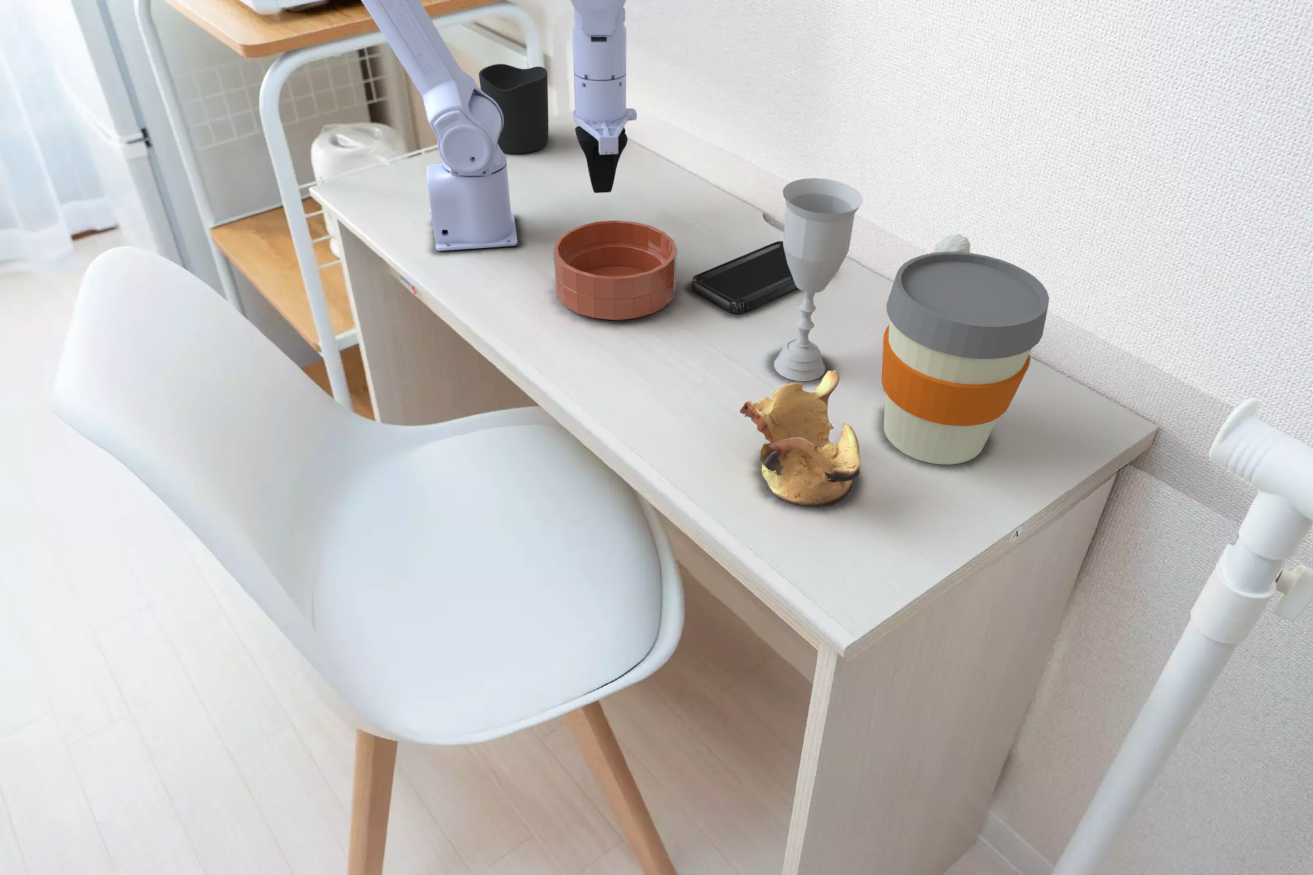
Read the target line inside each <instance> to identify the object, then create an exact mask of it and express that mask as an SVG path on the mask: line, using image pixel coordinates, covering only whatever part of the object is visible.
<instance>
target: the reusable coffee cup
mask: <svg viewBox="0 0 1313 875" xmlns="http://www.w3.org/2000/svg"><path fill="white" fill-rule="evenodd" d="M1049 303H1050V296H1049V293H1048V290H1047V289H1046V287H1045V286H1044V284H1043V283H1042V282H1041V281H1040V280H1039V279H1038V278H1037V277H1036V276H1034V275H1033V274H1031V273H1030V272H1029V271H1027V270H1025V269H1023V268H1021V267H1019V266H1017V265H1015V264H1013V263H1011V262H1008V261H1005V260H1003V259H1000V258H997V257H993V256H988V255H984V254H979V253H973V252H970V253H964V252H938V253H932V252H930V253H925V254H921V255H918V256H916V257H912V258H910V259H908V260H907V261H906V262H904V263H903V264H901V266H900V267H899V268H898V270H897V272H896V275H895V277H894V280H893V284H892V286H891V289H890V292H889V296H888V299H887V302H886V314H887V317H888V319H889V321H888V323H889V324H888V325H887V326H886V328H885V331H884V333H883V343H882V344H883V345H882V358H881V360H882V362H881V385H882V388H883V391H884V392H885V395H884V409H883V410H884V412H883V431H884V434H885V436H886V438H887V440H888V441H889V443H890V444H892V446H893V447H895V448H896V449H897V450H898V451H900V452H901V453H903V454H905V455H906V456H909V457H910V458H913V459H916V460H918V461H920V462H924V463H928V464H935V465H957V464H963V463H966V462H969V461H971V460H972V459H974V458H976V457H977V456H978V455H979V454H980V453H981V452H982V451H983V449H984V447H985V445H986V443H987V441H988V440H989V437H990V434H992V431H993V429H994V427H995V424H996V423H997V421H998V419H999V418H1001V417H1002V416H1003V415H1004V414H1005V413H1006V412H1007V411H1008V409H1009V407H1010V405H1011V403H1012V402H1013V400H1014V398H1015V395H1016V393H1017V392H1018V389H1019V387H1020V386H1021V383H1022V381H1023V379H1024V377H1025V376H1026V373H1027V371H1028V369H1029V367H1030V362H1031V356H1030V353H1031V352H1032V349H1033V348H1034V347H1036V346H1037V345H1038V344H1039V343H1040V341H1041V339H1042V338H1043V334H1044V330H1045V325H1046V319H1047V314H1048V309H1049Z"/></svg>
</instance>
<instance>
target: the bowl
mask: <svg viewBox="0 0 1313 875" xmlns="http://www.w3.org/2000/svg"><path fill="white" fill-rule="evenodd" d="M552 249H553V264H554V282H555V291H556V297H557V298H558V300H559V301H560V302H561V303H562V305H564V307H566V308H568V309H569V310H571V311H573V312H575V313H576V314H579V315H582V316H586V317H589V318H593V319H601V320H608V321H611V320H612V321H621V320H622V321H623V320H630V319H631V320H633V319H636V318H641V317H644V316H648V315H652V314H654V313H656V312H658V311H660V310H662V309H664V308H665V307H666V306H667V305H668V304H669V303H670V302H671V301H672V300H673V299H674V297H675V292H676V288H677V263H678V262H677V261H678V260H677V258H678V256H677V255H678V248H677V245H676V243H675V240H674V239H673V238H672V237H671V235H669V234H668V233H666V232H665V231H663V230H661V229H659V228H657V227H654V226H652V225H649V224H645V223H641V222H637V221H629V220H602V221H601V220H600V221H595V222H590V223H585V224H582V225H579V226H576V227H573V228H571V229H569V230H567V231H566V232H564V233H563V234H562V235H561V236H559V237H558V238H557V240H556V241H555V244H554V246H553V248H552Z"/></svg>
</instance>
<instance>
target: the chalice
mask: <svg viewBox="0 0 1313 875" xmlns="http://www.w3.org/2000/svg"><path fill="white" fill-rule="evenodd" d="M782 196H783V199H784V201H785V204H786V211H785V218H784V219H785V220H784V228H783V237H782V241H783V247H784V251H785V255H786V259H787V264H788V266H789V269H790V272H791V274H792V277H793V279H794V282H795V284H796V286H797V288H796V289H799V291H802V292H803V299H802V302H801V303H800V304H799V306H798V308H799V310H800V312H801V316H800V318H799V319H798V320H797V321H796V322H795V325H796V326H797V328H798V337H797V338H796V339H793V340H790V341H788V342H787V343H786V344H784V346H783V347H782V350H780V352H779V354H778V356H777V357H776V358H775V360H774V362H773V368H774V370H775V372H777V374H779V375H780V376H781V377H783V378H786V379H788V380H791V381H795V382H810V381H811V382H812V381H814V380H818V379H819V378H821V377H822V376H823V375H825V372H826V365H825V364H824V362H823V357H822V355H821V350H820V348H819V347H818V345H817V344H816V343H815V342H813V341H811V340H809V335H810V331H811V330H812V329H814V328H815V323H814V322H813V321H812V315H813V313H814V312H815V311H816V309H817V307H816V306H815V304H814V303H815V302H814V297H815V294H818V293H821V292H824V290H825V289H826V288H827V286H828V285H829V284H830V282H831V281H832V280H833V278H834V277H835V276H836V274H838V272H839V270H840V268H841V266H842V264H843V263H844V261H845V260H846V258H847V255H848V254H849V251H850V245H851V239H852V233H853V227H854V221H855V215H856V212H858V210H859V208H860V207H861V205H862V203H863V201H864V200H863V195H862V194H861V193H860V192H859V191H858V190H857V189H856V188H855V187H853V186H851V185H849V184H847V183H844V182H841V181H837V180H834V179H829V178H818V177H810V178H801V179H797V180H793V181H791V182H789V183H787V184H786V185H785V186H784V187H783V189H782Z"/></svg>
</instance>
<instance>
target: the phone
mask: <svg viewBox="0 0 1313 875" xmlns="http://www.w3.org/2000/svg"><path fill="white" fill-rule="evenodd" d="M691 289H692V290H693V292H695V293H697V294H699V296H702V297H704V298H705V299H707V300H709V301H710V302H712V303H714V304H716V305H717V306H719V307H720V308H722V309H724V310H726V311H727V312H730V313H732V314H742V313H745V312H748V311H750V310H752V309H754V308H756V307H758V306H761V305H763V304H765V303H767V302H770V301H771V300H774V299H777V298H778V297H781V296H782V295H785V294H787V293H789V292H791V291H793V290H795V289H798V288H797V286H796V284H795V282H794V279H793V277H792V274H791V272H790V269H789V266H788V264H787V259H786V255H785V251H784V247H783V240H778V241H775V242H771V243H770V244H767V245H765V246H762V247H760V248H758V249H755V250H753V251H750V252H748V253H746V254H743V255H741V256H738V257H736V258H734V259H731V260H729V261H727V262H724V263H722V264H719V265H716V266H714V267H712V268H710V269H707V270H705V271H702V272H699V273H697V274H695V275H693V276H692V280H691Z"/></svg>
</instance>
